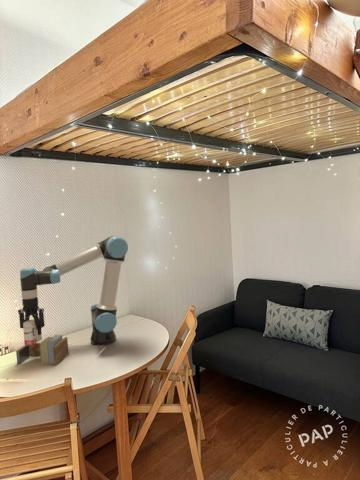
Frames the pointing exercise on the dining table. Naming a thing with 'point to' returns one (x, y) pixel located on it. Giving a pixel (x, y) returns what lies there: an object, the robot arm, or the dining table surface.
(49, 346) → the book
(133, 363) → the dining table surface
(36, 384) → the dining table surface
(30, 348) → the shelf
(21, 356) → the bookend
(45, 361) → the book
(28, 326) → the ink box
